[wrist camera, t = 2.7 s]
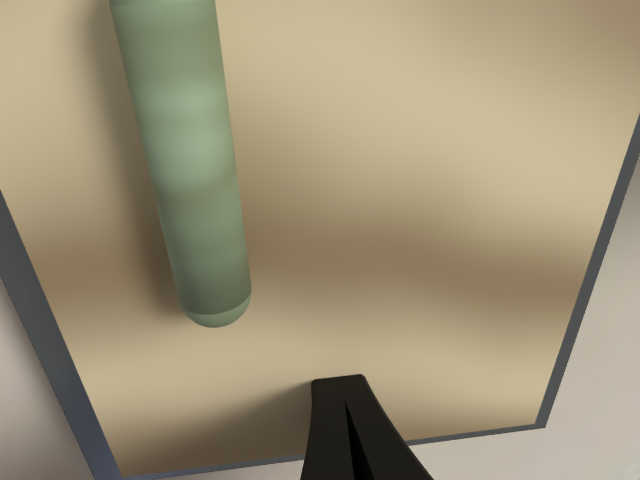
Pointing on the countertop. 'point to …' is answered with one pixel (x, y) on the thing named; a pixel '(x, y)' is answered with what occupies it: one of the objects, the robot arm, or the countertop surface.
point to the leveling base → (37, 317)
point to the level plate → (310, 204)
